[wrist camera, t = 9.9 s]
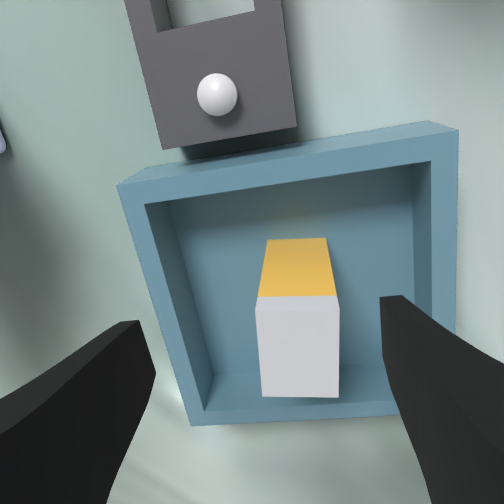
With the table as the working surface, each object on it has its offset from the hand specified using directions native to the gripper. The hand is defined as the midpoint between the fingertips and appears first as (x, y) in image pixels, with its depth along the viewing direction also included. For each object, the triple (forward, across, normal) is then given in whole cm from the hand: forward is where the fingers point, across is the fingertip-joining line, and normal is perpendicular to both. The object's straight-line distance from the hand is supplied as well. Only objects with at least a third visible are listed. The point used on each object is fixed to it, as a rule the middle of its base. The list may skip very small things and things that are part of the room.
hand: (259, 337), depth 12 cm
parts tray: (+10, -1, +3) cm, 11 cm away
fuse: (+10, -1, +3) cm, 10 cm away
